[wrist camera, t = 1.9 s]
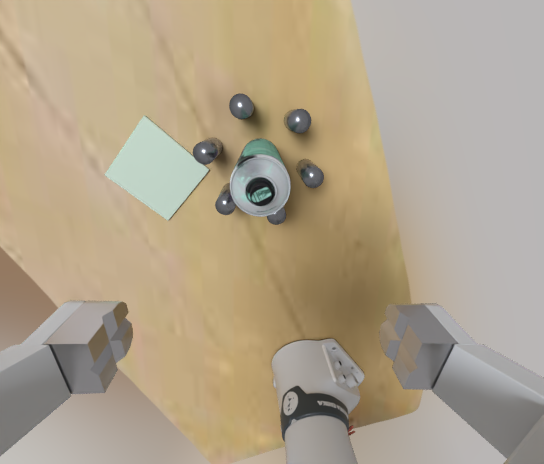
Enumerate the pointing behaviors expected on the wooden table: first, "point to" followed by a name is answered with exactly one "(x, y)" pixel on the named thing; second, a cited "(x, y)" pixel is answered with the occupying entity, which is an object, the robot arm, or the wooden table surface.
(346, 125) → the wooden table surface
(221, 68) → the wooden table surface
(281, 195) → the spray can
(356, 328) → the wooden table surface
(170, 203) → the mat
